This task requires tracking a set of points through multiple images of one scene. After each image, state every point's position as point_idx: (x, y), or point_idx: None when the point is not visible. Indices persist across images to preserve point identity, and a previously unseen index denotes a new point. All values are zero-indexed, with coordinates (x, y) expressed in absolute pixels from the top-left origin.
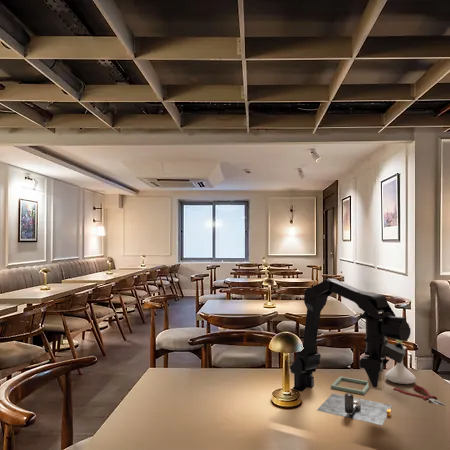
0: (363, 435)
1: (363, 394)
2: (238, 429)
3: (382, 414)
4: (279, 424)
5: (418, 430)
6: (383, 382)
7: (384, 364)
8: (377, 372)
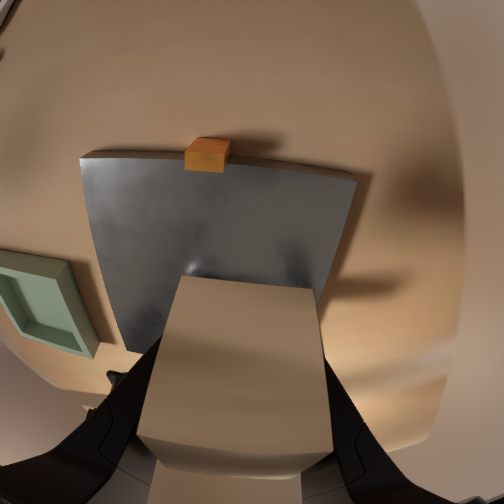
0: (407, 237)
1: (61, 274)
2: (394, 410)
3: (219, 185)
4: (368, 389)
5: (276, 12)
6: (228, 327)
7: (93, 498)
8: (399, 480)
